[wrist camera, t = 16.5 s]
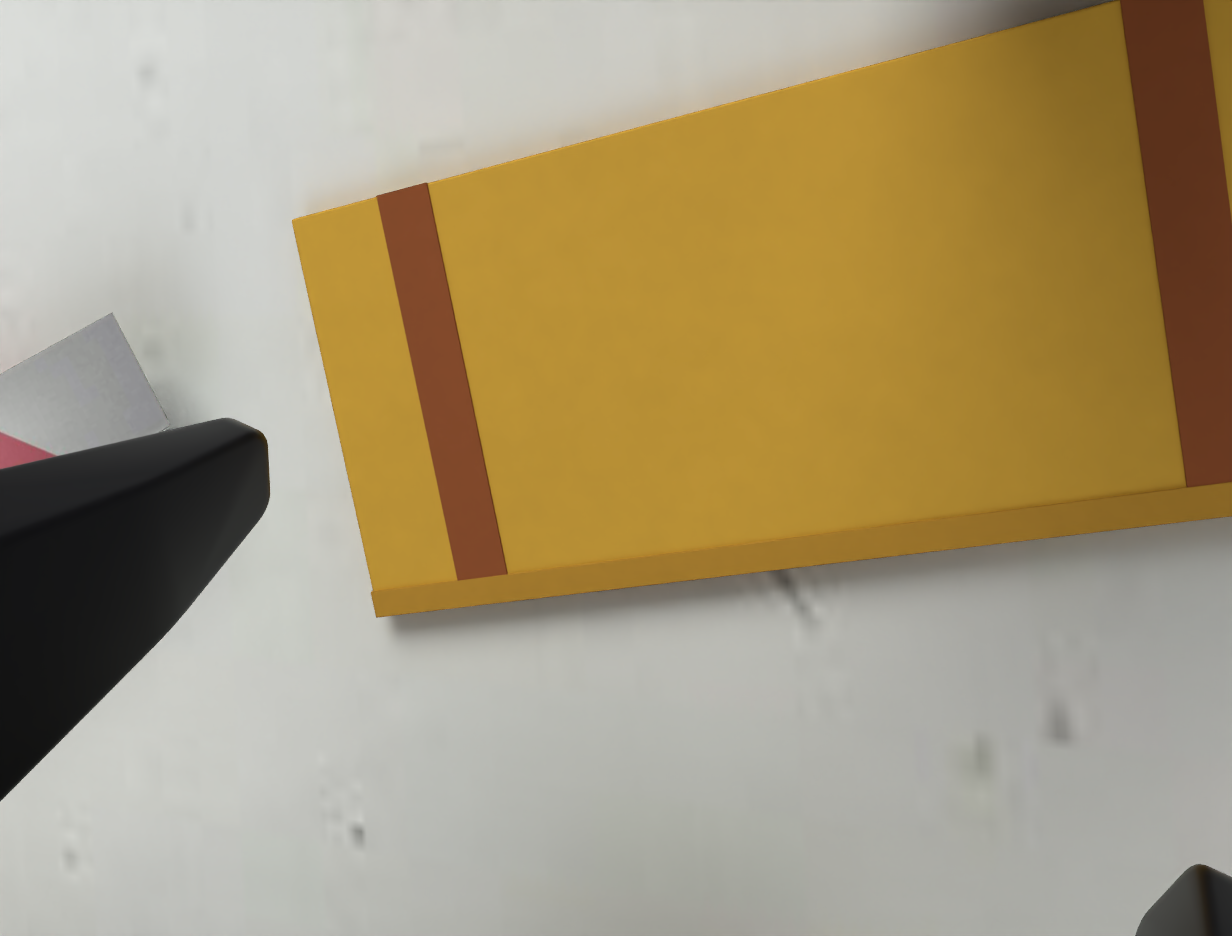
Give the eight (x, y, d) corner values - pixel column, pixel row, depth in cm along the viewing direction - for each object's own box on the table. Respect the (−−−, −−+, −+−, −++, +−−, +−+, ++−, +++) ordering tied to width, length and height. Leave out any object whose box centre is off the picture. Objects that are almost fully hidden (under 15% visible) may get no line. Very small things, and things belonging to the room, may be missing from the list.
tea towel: (1406, 487, 18) (1420, 494, 17) (388, 610, 24) (376, 617, 24) (1344, -55, 17) (1357, -67, 16) (303, 220, 23) (288, 219, 23)
